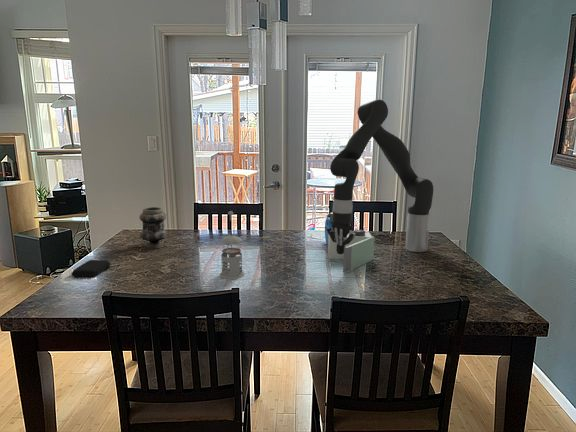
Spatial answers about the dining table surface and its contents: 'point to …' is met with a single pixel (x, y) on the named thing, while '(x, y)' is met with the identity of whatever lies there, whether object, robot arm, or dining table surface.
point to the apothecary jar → (153, 227)
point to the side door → (358, 254)
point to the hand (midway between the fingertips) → (340, 253)
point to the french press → (231, 258)
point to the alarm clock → (328, 225)
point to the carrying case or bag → (91, 268)
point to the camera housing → (333, 246)
